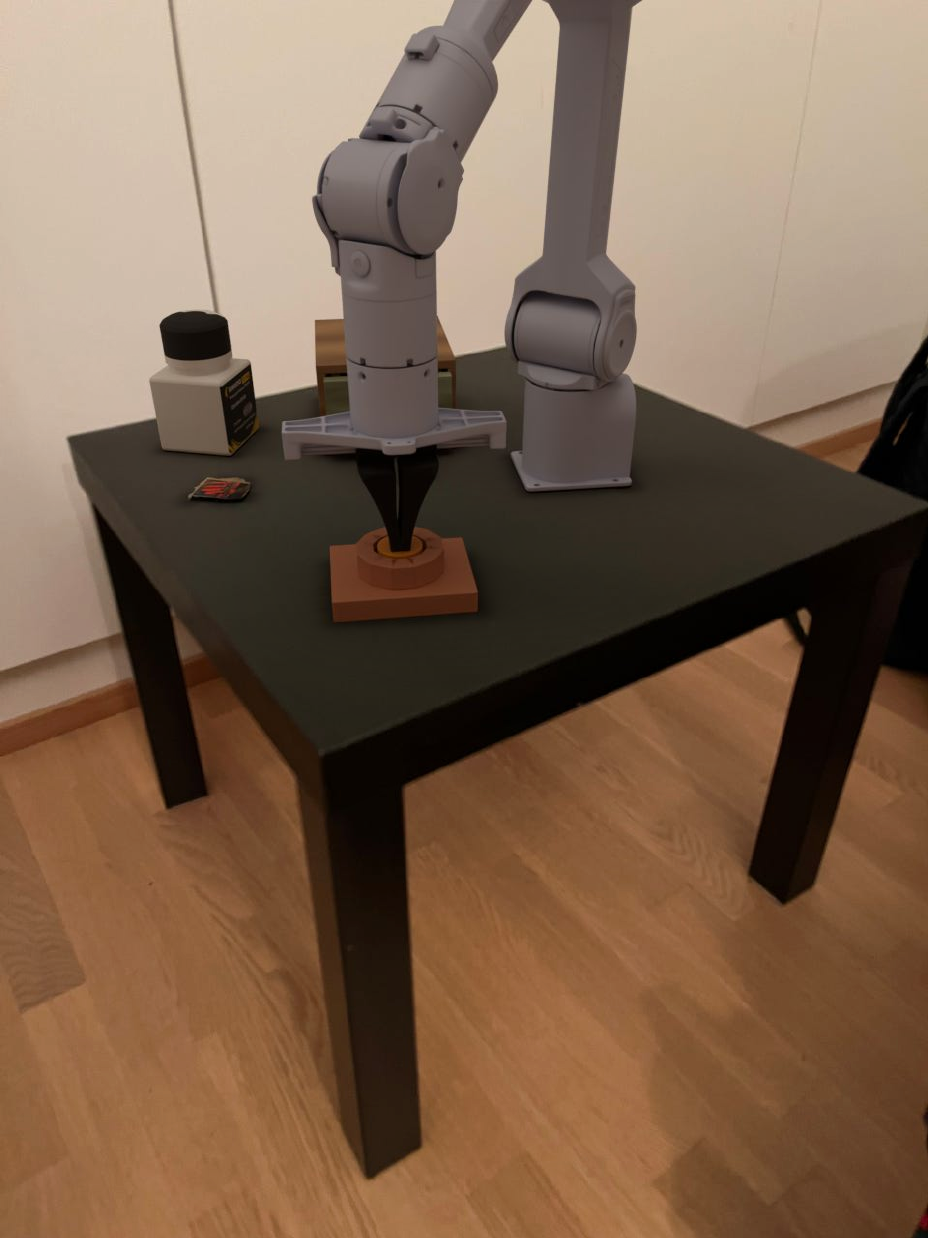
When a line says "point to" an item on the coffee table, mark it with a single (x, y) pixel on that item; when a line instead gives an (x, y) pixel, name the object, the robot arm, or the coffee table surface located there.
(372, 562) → the button box
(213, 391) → the medicine bottle
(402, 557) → the button
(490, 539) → the coffee table surface
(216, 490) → the matchbox
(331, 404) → the drawer
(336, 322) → the cabinet
